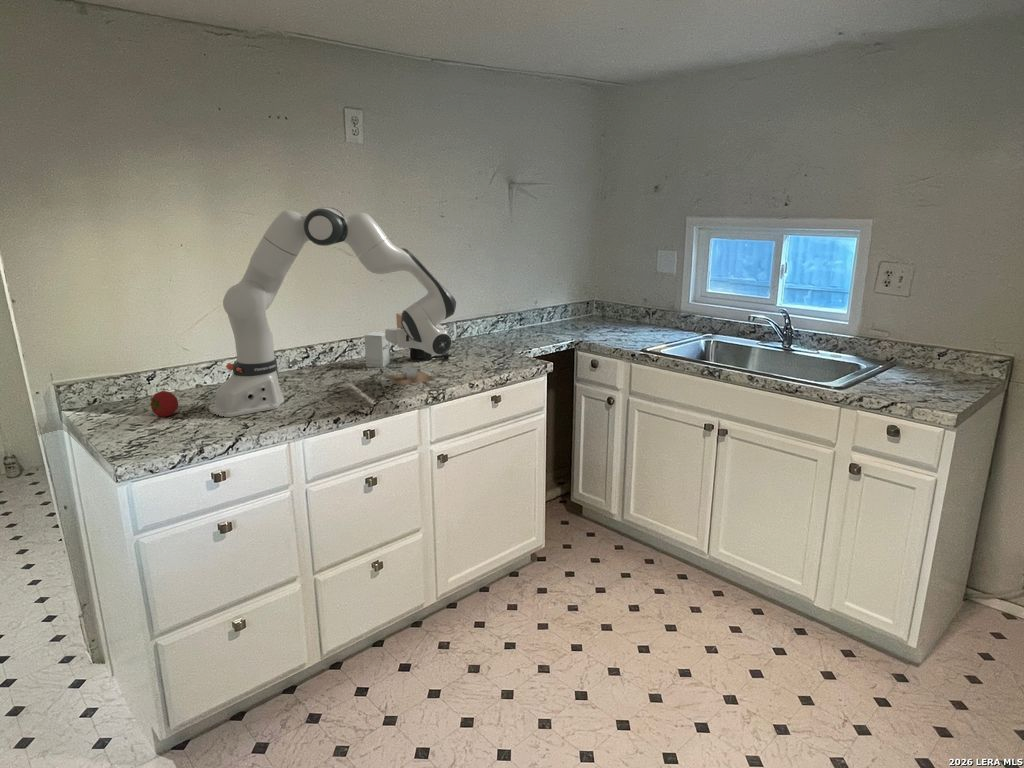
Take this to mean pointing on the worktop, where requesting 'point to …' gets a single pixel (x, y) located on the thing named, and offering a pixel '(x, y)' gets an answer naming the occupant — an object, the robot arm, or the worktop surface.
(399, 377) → the tile
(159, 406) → the tomato
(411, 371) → the block
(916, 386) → the worktop surface
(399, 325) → the tan tall prism
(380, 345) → the supplement box
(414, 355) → the milk frother
